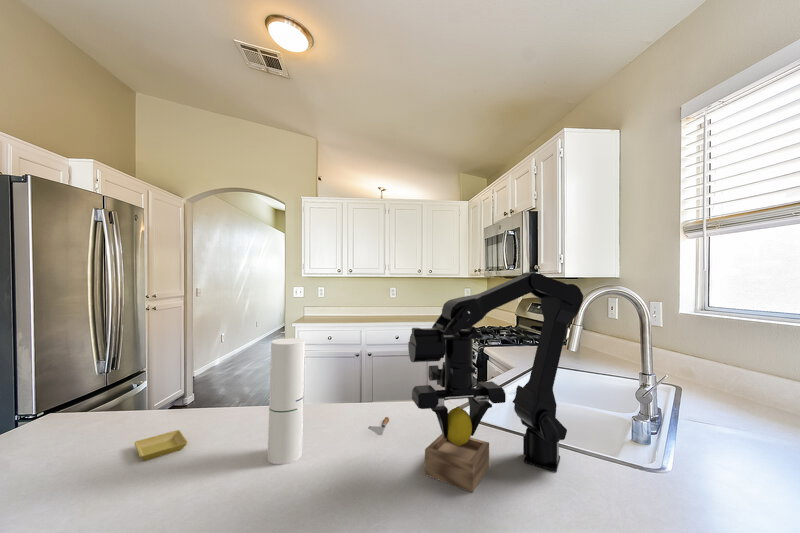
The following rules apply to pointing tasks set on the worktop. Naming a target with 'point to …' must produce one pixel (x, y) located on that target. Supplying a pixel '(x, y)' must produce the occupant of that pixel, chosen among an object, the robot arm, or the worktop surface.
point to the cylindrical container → (286, 400)
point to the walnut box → (457, 462)
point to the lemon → (459, 426)
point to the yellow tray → (160, 445)
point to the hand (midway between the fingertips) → (458, 436)
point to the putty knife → (379, 429)
